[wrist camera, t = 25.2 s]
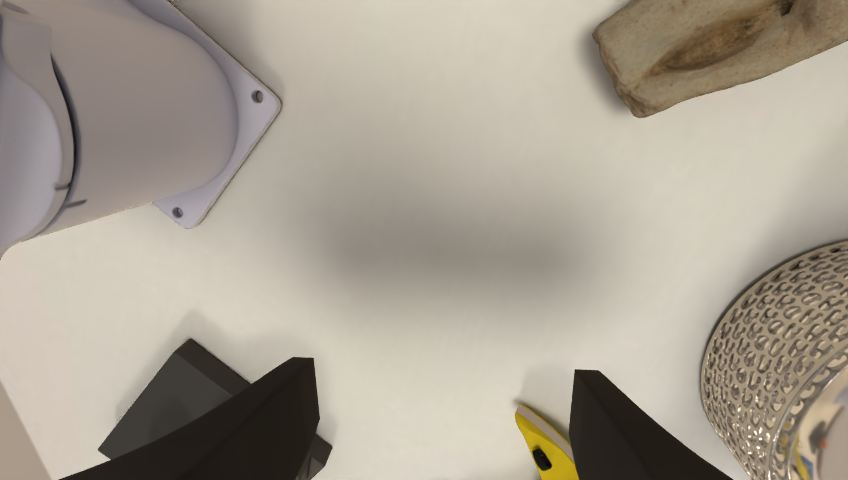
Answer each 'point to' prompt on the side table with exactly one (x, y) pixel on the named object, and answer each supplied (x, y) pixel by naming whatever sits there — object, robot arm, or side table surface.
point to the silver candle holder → (785, 372)
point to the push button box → (188, 405)
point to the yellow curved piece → (546, 446)
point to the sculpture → (710, 45)
